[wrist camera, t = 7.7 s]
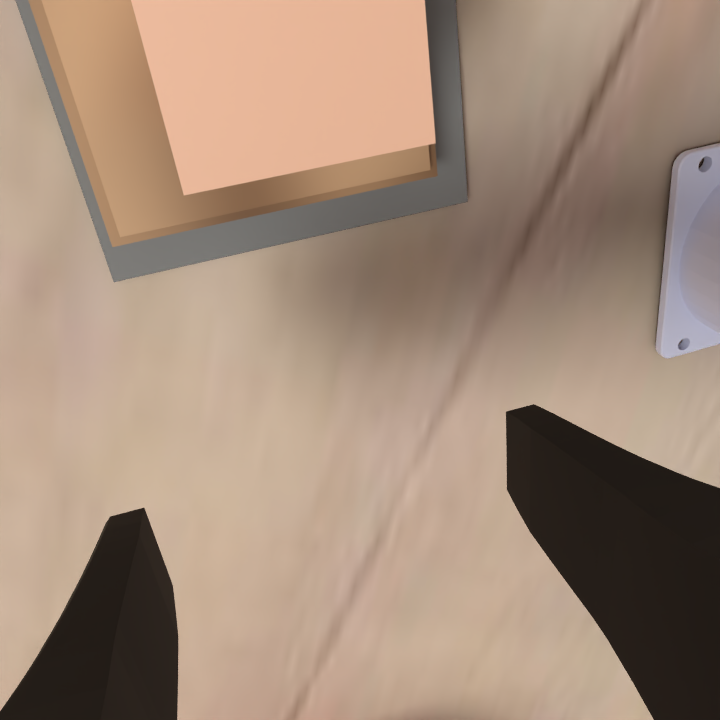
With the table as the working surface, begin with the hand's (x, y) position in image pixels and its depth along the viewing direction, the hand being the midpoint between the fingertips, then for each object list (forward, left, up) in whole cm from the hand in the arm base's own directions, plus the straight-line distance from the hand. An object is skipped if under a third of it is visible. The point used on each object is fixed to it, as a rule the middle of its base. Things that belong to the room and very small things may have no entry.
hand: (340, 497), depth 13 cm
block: (-1, -8, -8) cm, 11 cm away
